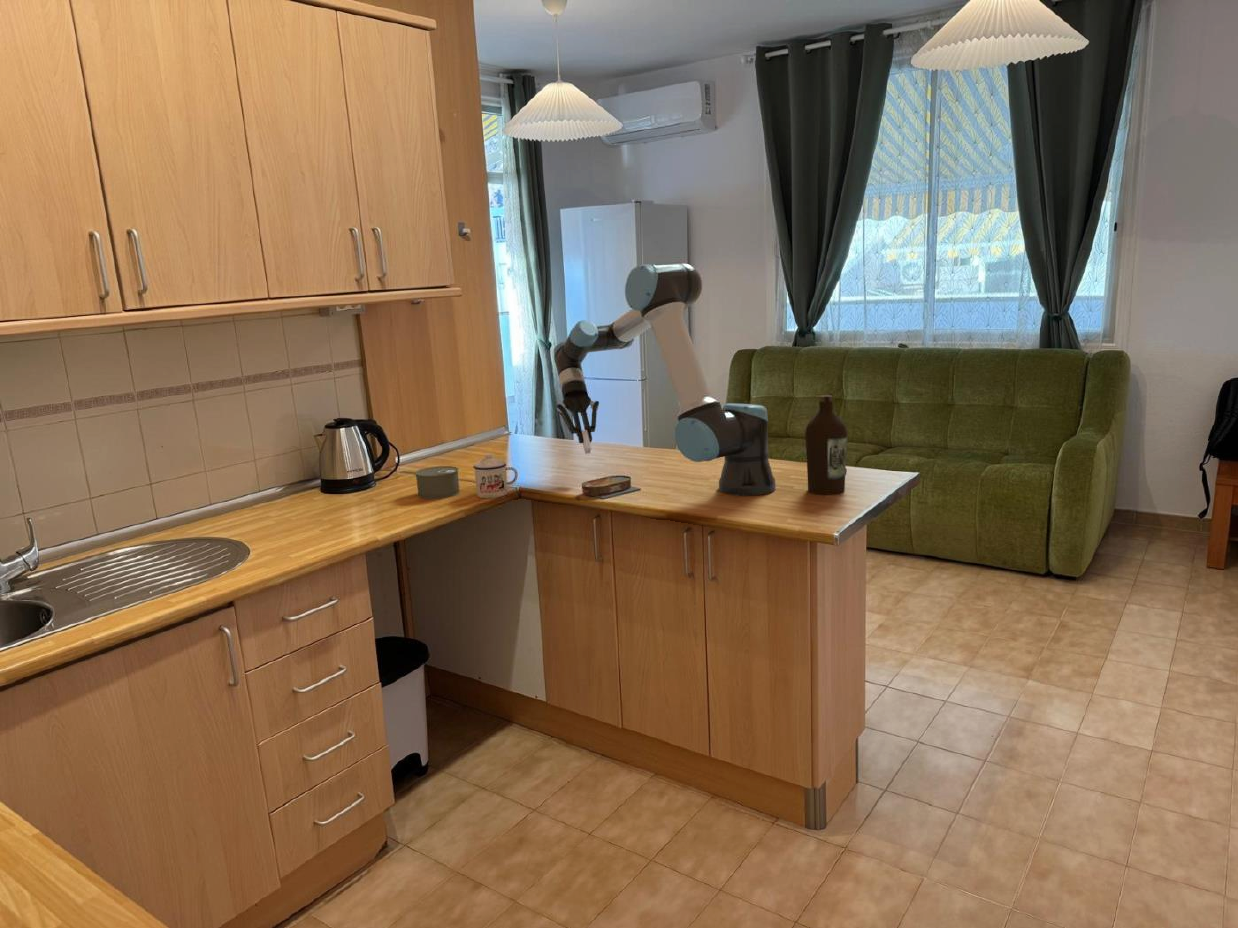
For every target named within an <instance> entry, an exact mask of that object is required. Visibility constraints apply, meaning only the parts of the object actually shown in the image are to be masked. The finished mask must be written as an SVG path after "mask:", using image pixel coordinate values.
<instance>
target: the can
mask: <svg viewBox="0 0 1238 928" xmlns="http://www.w3.org/2000/svg"><path fill="white" fill-rule="evenodd" d="M415 477H416V478H415V479H416V486H417V493H418V494H417V495H418V498H419V499H420V498H421V499H424V500H440V499H441V500H442V499H446V498H451V497H454V496H457V495H459V494H460V493H459V492H461V491H460V483H459V482H460V480H459V468H458V467H456V466H450V465H446V466H445V465H441V466H431V467H425V468H423V469H422V468H421V469H418V470H417V471H415Z"/></svg>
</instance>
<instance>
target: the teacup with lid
mask: <svg viewBox="0 0 1238 928" xmlns="http://www.w3.org/2000/svg"><path fill="white" fill-rule="evenodd" d="M493 455H494V454H493V453H486V454H485V457H483V458H481V459H480V460H479V461H476V462H474V464H473V468H474V477H475V487H476V490H475V491H476V496H477V498H481V499H496V498H500V497H501V498H502V497H504V496H506V495H507V494H508V492H509V490H508V486H511V485H513V484H515V482H516V481H517V480H518V476H519V475H518V473H519V472H518V471H517V470H516V468H515V467H513V466H510V467H509V466H508V467H506V466H507V462H506V461H505V460H503V459H500V458H498V457H495V456H493ZM507 471H513V472H514V478H513V479H512V480H511V481H508V478H507Z"/></svg>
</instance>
